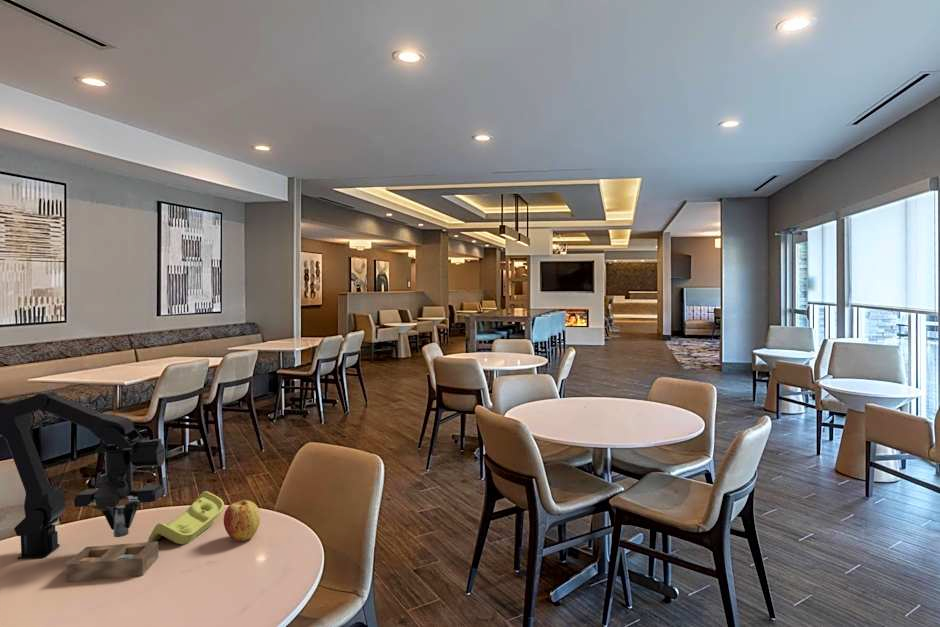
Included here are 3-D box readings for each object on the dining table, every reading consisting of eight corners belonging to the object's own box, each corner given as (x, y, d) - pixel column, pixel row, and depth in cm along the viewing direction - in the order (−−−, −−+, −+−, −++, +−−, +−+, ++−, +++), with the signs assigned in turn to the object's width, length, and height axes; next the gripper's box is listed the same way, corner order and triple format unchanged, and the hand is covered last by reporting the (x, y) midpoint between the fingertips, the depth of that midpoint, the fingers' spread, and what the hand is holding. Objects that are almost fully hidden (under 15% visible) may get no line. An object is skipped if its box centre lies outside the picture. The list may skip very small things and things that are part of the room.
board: (65, 582, 125) (65, 563, 125) (86, 563, 134) (86, 545, 134) (142, 575, 128) (142, 556, 128) (158, 557, 137) (157, 540, 137)
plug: (111, 537, 141) (110, 510, 141) (117, 532, 144) (116, 505, 144) (125, 536, 142) (124, 509, 142) (130, 531, 145) (129, 504, 145)
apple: (228, 533, 150) (227, 496, 150) (263, 529, 152) (262, 493, 152) (221, 547, 141) (220, 508, 141) (259, 543, 143) (257, 505, 143)
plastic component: (187, 537, 142) (154, 520, 143) (178, 561, 144) (144, 544, 144) (231, 503, 162) (201, 488, 163) (222, 524, 163) (192, 509, 164)
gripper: (60, 480, 133) (63, 545, 134) (145, 475, 136) (147, 538, 137) (85, 466, 144) (87, 526, 145) (162, 462, 147) (164, 520, 148)
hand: (121, 528), depth 143 cm, fingers closed on plug, 3 cm apart
